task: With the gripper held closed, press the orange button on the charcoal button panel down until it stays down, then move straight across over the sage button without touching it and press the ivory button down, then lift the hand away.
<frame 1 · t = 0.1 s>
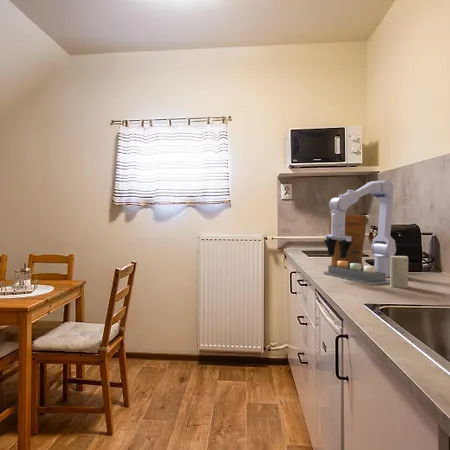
hand: (337, 256, 159), 10 cm above the worktop, tool pointing down, fingers open, 7 cm apart
skincare box: (398, 287, 146), on the worktop
pancake mix bag: (346, 267, 197), on the worktop
button panel: (355, 278, 163), on the worktop
sage button: (355, 267, 163), point 5 cm above the worktop, slide at 0.0 cm
ivory button: (369, 270, 156), point 5 cm above the worktop, slide at 0.0 cm
orange button: (342, 265, 170), point 5 cm above the worktop, slide at 0.0 cm
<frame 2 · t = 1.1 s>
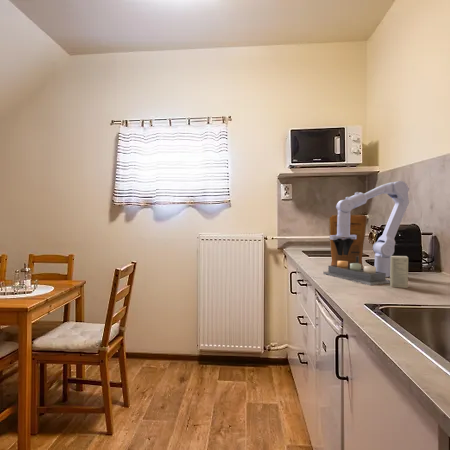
hand: (342, 255, 170), 9 cm above the worktop, tool pointing down, fingers open, 3 cm apart
nothing on the worktop moved.
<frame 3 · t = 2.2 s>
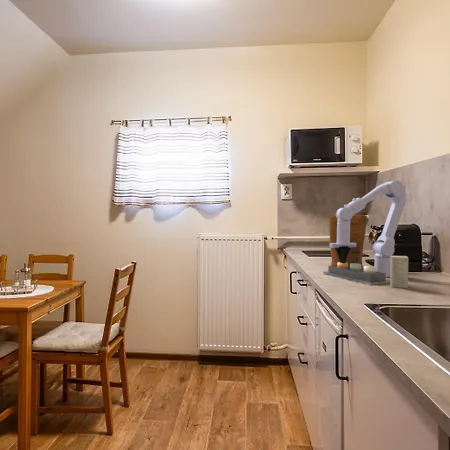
hand: (342, 262, 170), 6 cm above the worktop, tool pointing down, fingers closed, pressing on orange button
orange button: (342, 266, 170), point 4 cm above the worktop, slide at 0.7 cm, touching gripper
everything else where it was.
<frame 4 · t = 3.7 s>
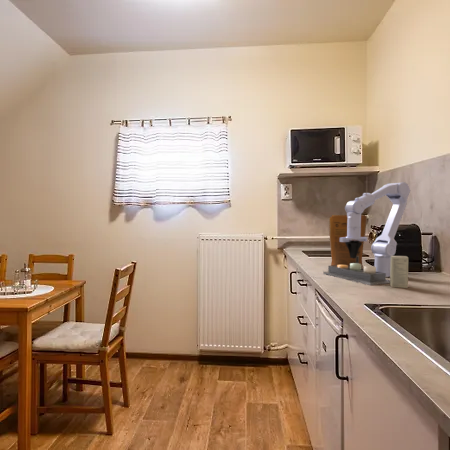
hand: (353, 257, 164), 9 cm above the worktop, tool pointing down, fingers closed
orange button: (342, 268, 170), point 3 cm above the worktop, slide at 1.8 cm
everything else where it was.
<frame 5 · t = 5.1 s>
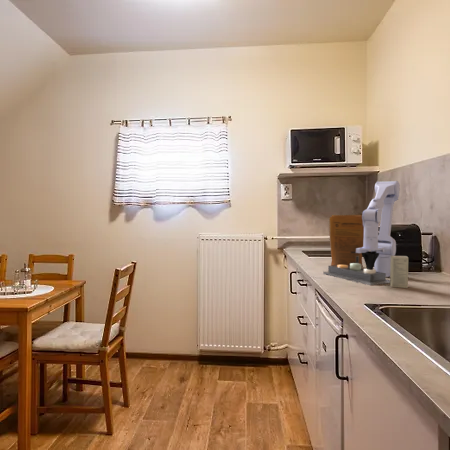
hand: (369, 269, 156), 5 cm above the worktop, tool pointing down, fingers closed, pressing on ivory button
ivory button: (369, 273, 156), point 3 cm above the worktop, slide at 1.2 cm, touching gripper
everything else where it was.
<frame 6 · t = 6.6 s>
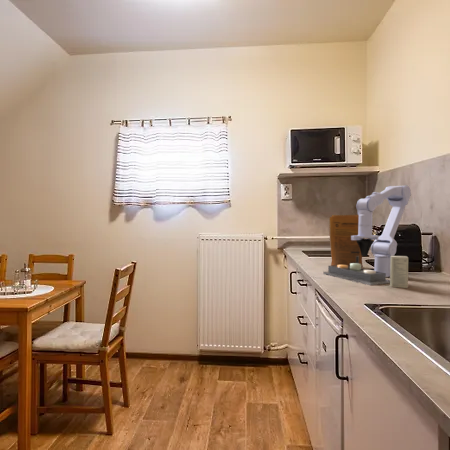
hand: (364, 256, 162), 10 cm above the worktop, tool pointing down, fingers closed
ivory button: (369, 274, 156), point 3 cm above the worktop, slide at 1.8 cm
everything else where it was.
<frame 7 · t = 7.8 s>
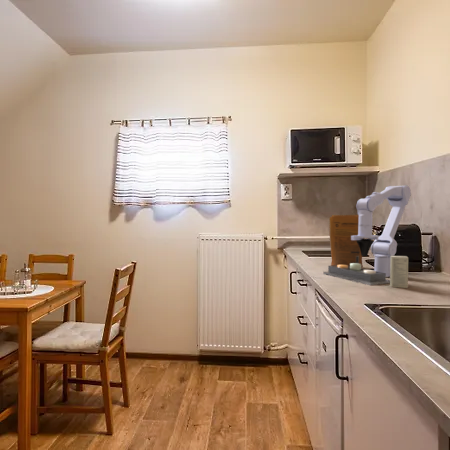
hand: (364, 256, 162), 10 cm above the worktop, tool pointing down, fingers closed
nothing on the worktop moved.
at the end: orange button slide at 1.8 cm; ivory button slide at 1.8 cm; sage button slide at 0.0 cm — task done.
